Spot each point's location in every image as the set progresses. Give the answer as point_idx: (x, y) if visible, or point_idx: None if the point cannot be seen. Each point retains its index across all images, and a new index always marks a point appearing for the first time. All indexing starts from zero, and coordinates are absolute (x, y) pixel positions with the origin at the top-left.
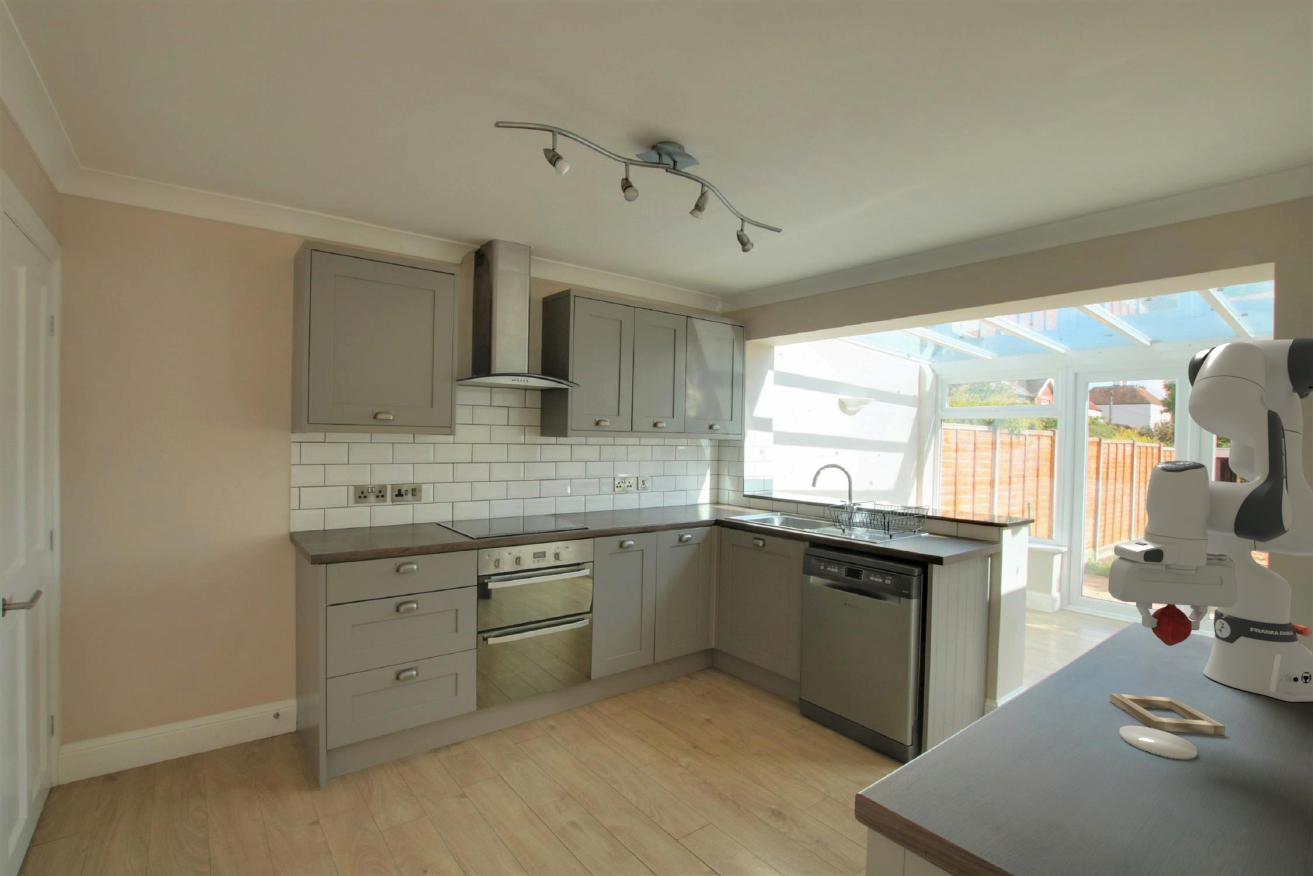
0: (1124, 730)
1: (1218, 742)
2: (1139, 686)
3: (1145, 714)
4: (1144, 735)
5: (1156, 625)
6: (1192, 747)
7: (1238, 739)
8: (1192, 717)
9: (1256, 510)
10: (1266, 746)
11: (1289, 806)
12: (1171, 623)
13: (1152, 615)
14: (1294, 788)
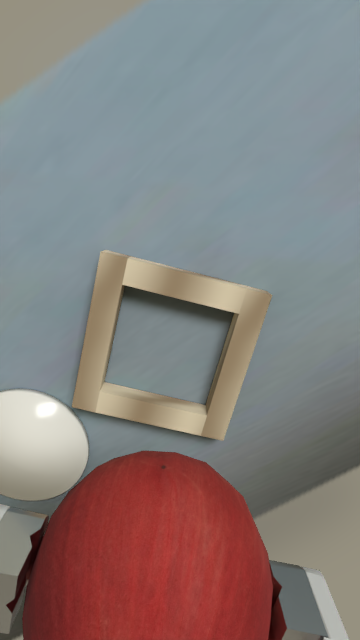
0: None
1: (170, 451)
2: (313, 153)
3: (81, 376)
4: (12, 431)
5: (27, 578)
6: (72, 478)
7: (230, 445)
8: (216, 376)
9: None
10: (256, 471)
11: None
12: None
13: (46, 573)
14: None
